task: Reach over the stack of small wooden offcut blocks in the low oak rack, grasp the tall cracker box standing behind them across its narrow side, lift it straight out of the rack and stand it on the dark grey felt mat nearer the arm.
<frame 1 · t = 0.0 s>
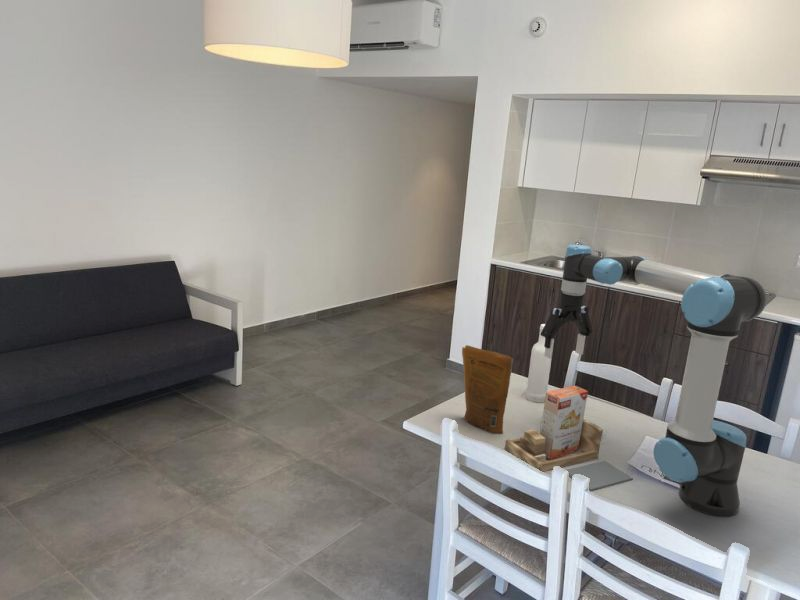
hand: (563, 355, 196), 28 cm above the table, fingers open, 13 cm apart
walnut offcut: (531, 449, 184), point 3 cm above the table, touching birch offcut, oak offcut
felt mat: (597, 476, 177), on the table
oak offcut: (533, 441, 183), point 6 cm above the table, touching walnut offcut
supplement bottle: (554, 425, 210), on the table
cracker box: (558, 452, 190), resting in oak rack
bottle: (535, 399, 232), on the table
oak rack: (550, 453, 189), on the table
birch offcut: (531, 458, 185), resting in oak rack, touching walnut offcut
pancake mix bag: (481, 426, 205), on the table
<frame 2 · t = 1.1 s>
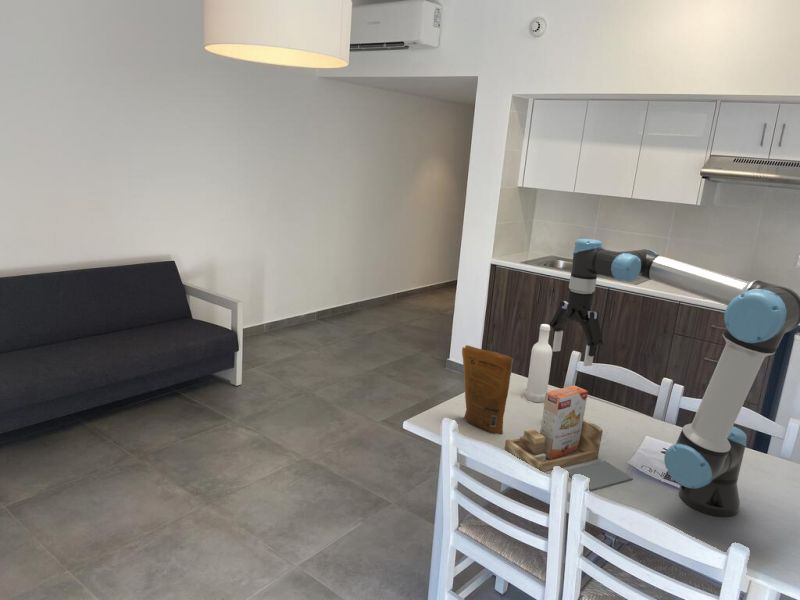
hand: (571, 358, 183), 32 cm above the table, fingers open, 13 cm apart
nothing on the table moved.
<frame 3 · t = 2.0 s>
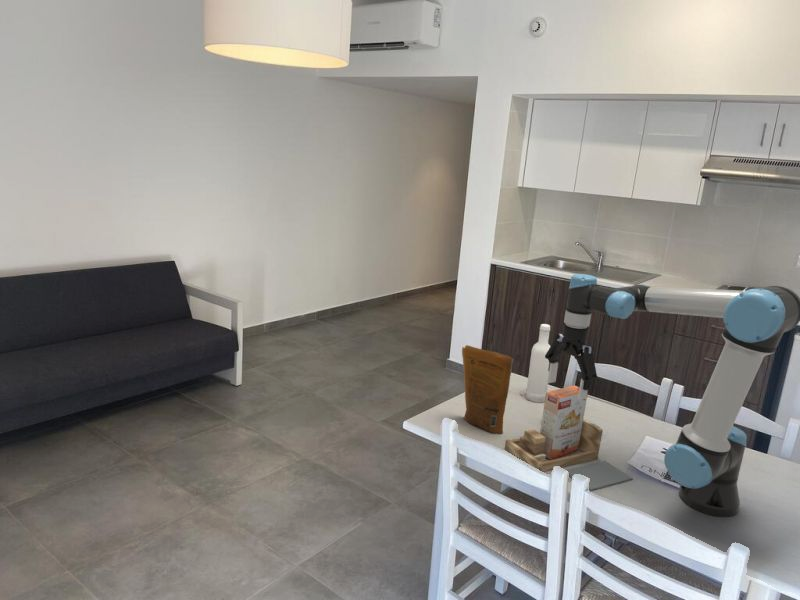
hand: (566, 390, 185), 21 cm above the table, fingers open, 13 cm apart
nothing on the table moved.
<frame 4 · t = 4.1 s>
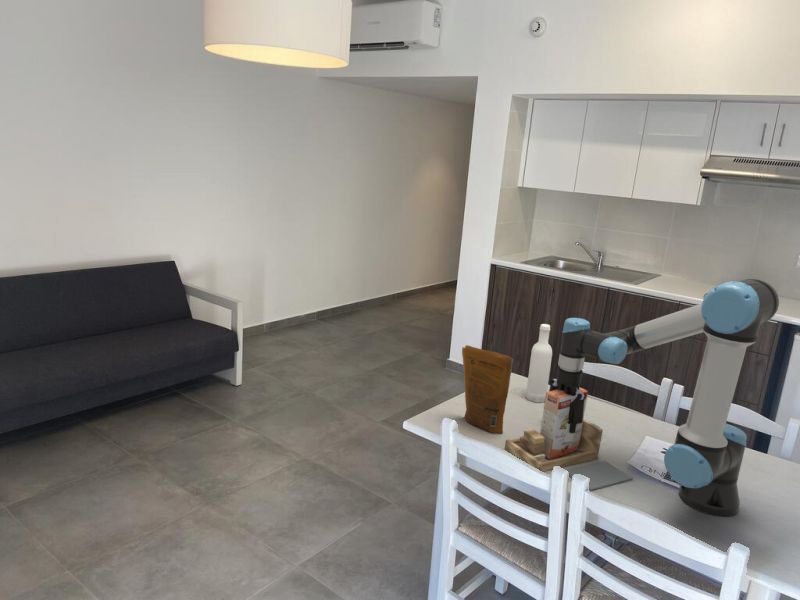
hand: (560, 436, 189), 5 cm above the table, fingers closed on cracker box, 6 cm apart
cracker box: (558, 452, 190), resting in oak rack, touching gripper
everything else where it was.
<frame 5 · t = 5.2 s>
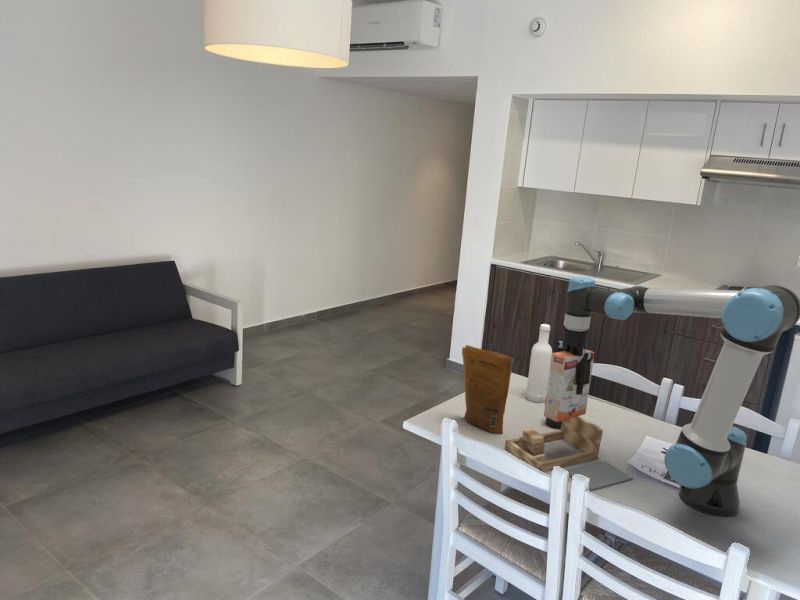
hand: (567, 399, 185), 18 cm above the table, fingers closed on cracker box, 6 cm apart
cracker box: (565, 416, 187), point 13 cm above the table, touching gripper
everything else where it was.
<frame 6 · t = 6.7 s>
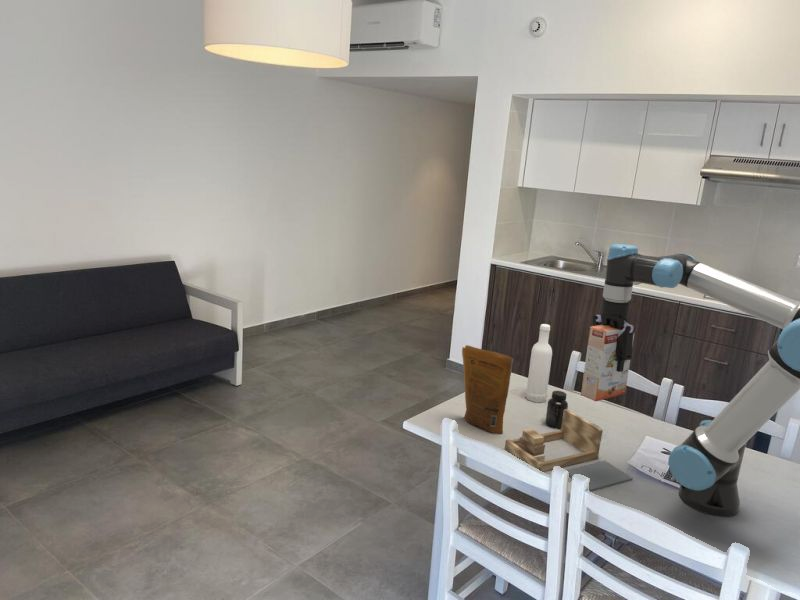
hand: (606, 377, 172), 30 cm above the table, fingers closed on cracker box, 6 cm apart
cracker box: (603, 395, 173), point 25 cm above the table, touching gripper
everything else where it was.
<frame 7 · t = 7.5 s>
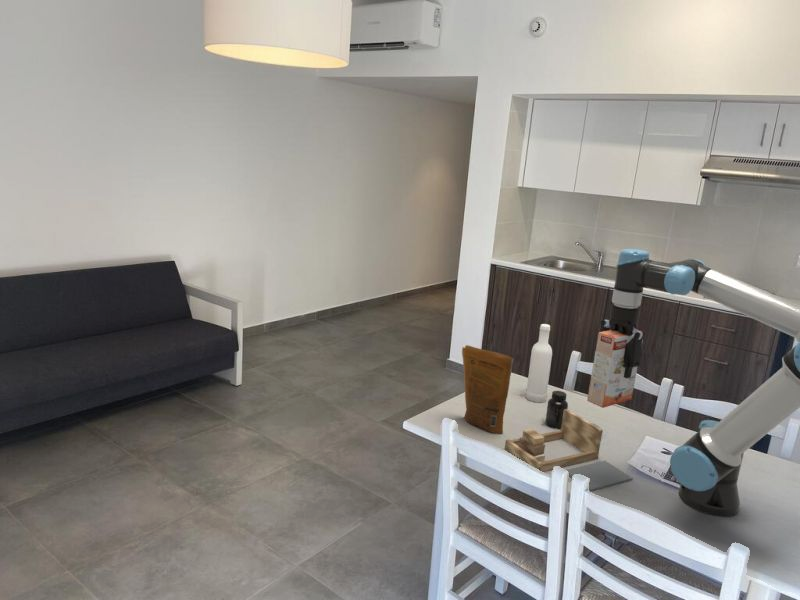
hand: (612, 383, 170), 30 cm above the table, fingers closed on cracker box, 6 cm apart
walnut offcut: (530, 450, 184), point 3 cm above the table, touching birch offcut
oak offcut: (532, 441, 183), point 6 cm above the table
cracker box: (609, 401, 171), point 24 cm above the table, touching gripper
everything else where it was.
when the fingers open (7 cm above the table, at t = 11.0 s): cracker box drops 1 cm, resting on felt mat.
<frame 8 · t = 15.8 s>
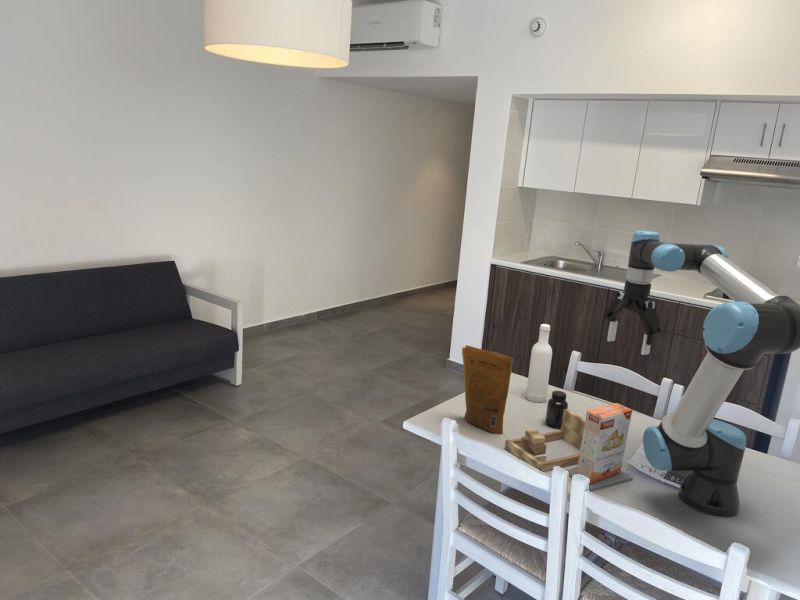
hand: (627, 347, 187), 35 cm above the table, fingers open, 13 cm apart
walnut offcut: (532, 449, 185), point 3 cm above the table, touching birch offcut, oak offcut
oak offcut: (534, 441, 184), point 6 cm above the table, touching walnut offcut
cracker box: (598, 475, 177), resting on felt mat
at the end: cracker box 0.3 cm from the felt mat (horizontally); cracker box tilted 0°; the gripper is holding nothing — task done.
